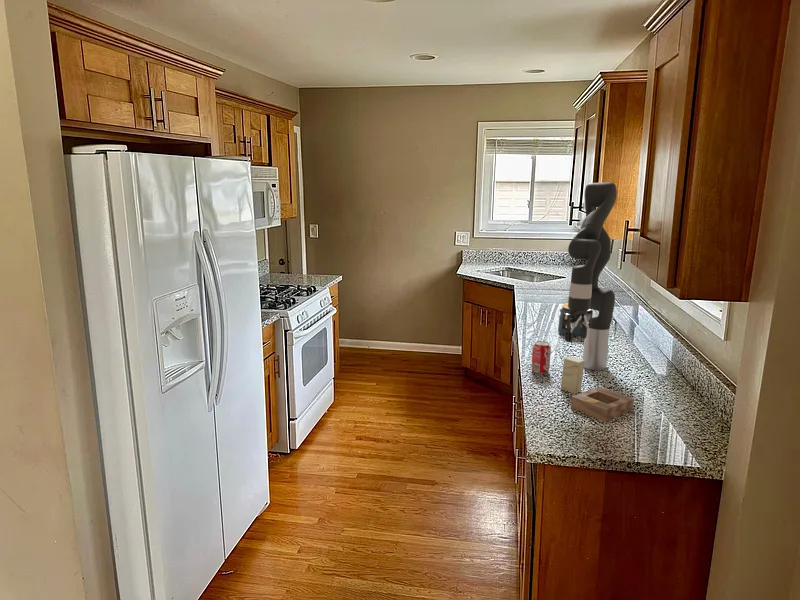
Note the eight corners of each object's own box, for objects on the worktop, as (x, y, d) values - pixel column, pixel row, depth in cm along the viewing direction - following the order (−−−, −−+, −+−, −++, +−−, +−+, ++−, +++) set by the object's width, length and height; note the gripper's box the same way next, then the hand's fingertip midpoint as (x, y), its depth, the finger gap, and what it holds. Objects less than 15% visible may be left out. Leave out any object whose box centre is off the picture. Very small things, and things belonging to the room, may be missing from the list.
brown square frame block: (598, 397, 190) (599, 386, 189) (632, 409, 180) (634, 398, 179) (570, 407, 181) (571, 395, 180) (605, 421, 171) (606, 409, 170)
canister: (579, 339, 263) (582, 304, 259) (553, 334, 270) (556, 300, 266) (587, 333, 273) (591, 299, 269) (563, 329, 280) (566, 296, 277)
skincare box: (560, 389, 197) (563, 358, 194) (566, 386, 200) (569, 355, 197) (576, 394, 192) (579, 362, 190) (581, 391, 195) (585, 359, 193)
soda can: (549, 369, 218) (551, 341, 215) (548, 375, 211) (551, 346, 208) (531, 367, 219) (533, 339, 217) (530, 373, 213) (532, 344, 210)
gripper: (583, 291, 196) (579, 334, 199) (558, 295, 187) (554, 340, 191) (601, 295, 190) (596, 339, 193) (576, 299, 181) (572, 345, 185)
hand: (575, 339), depth 192 cm, fingers open, 8 cm apart
